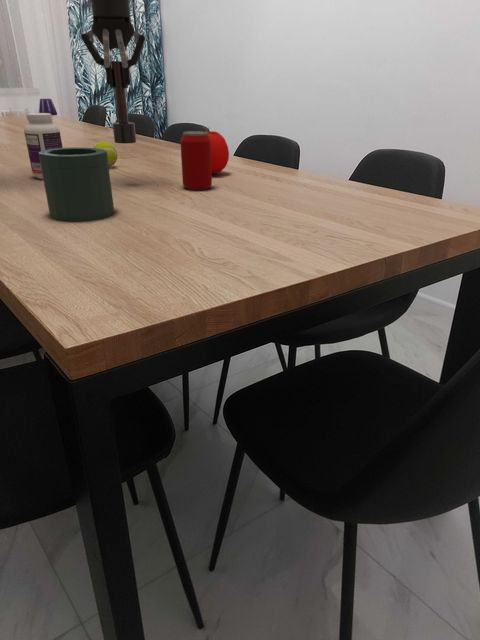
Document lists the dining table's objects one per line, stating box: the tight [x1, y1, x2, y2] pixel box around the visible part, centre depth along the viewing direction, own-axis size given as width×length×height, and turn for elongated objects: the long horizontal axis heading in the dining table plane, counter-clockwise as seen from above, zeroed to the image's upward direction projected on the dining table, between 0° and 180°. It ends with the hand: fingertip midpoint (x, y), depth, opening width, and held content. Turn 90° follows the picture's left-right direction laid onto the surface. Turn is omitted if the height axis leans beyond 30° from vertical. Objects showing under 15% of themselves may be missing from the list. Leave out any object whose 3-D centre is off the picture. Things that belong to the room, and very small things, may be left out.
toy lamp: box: [38, 98, 58, 123], centre depth 140 cm, size 5×5×17 cm
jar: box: [38, 146, 115, 222], centre depth 92 cm, size 11×11×11 cm
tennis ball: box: [93, 141, 118, 168], centre depth 138 cm, size 7×7×7 cm
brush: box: [111, 60, 137, 144], centre depth 110 cm, size 5×5×16 cm
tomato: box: [201, 127, 230, 174], centre depth 131 cm, size 12×12×11 cm
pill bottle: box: [23, 112, 64, 180], centre depth 122 cm, size 8×8×14 cm
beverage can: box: [179, 130, 213, 191], centre depth 115 cm, size 7×7×12 cm
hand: (119, 87), depth 109 cm, fingers closed on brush
